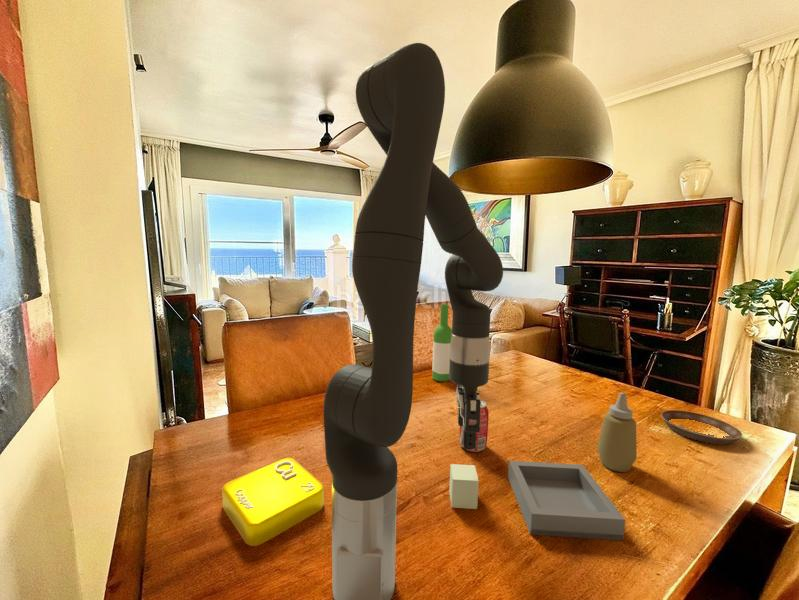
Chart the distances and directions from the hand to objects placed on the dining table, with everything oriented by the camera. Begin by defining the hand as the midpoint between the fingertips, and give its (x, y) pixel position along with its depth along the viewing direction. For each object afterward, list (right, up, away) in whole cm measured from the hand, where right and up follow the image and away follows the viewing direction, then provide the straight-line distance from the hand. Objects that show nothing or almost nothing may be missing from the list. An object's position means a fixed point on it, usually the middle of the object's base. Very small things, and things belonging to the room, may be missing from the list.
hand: (465, 435), depth 69 cm
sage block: (0, -14, +2) cm, 14 cm away
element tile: (-38, -14, -1) cm, 40 cm away
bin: (+19, -14, +1) cm, 23 cm away
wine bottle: (+4, -5, +70) cm, 70 cm away
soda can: (+6, -11, +21) cm, 25 cm away
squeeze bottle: (+38, -13, +14) cm, 43 cm away
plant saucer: (+73, -12, +32) cm, 81 cm away
